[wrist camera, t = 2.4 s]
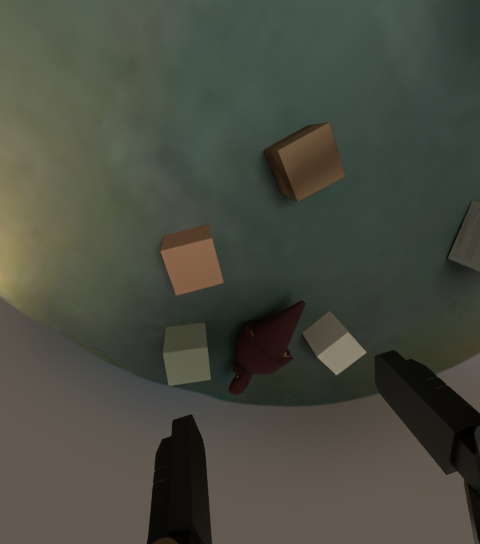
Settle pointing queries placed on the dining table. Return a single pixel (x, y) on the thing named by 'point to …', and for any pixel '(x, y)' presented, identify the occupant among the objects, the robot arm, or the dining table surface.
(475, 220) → the skincare box
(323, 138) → the walnut cube
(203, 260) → the terracotta cube
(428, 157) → the dining table surface
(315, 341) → the cream cube
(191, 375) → the sage cube
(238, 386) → the icecream
